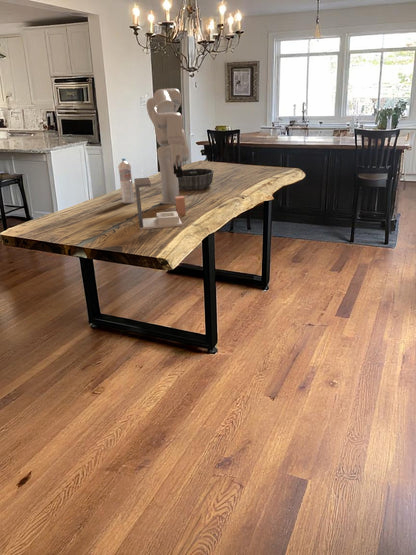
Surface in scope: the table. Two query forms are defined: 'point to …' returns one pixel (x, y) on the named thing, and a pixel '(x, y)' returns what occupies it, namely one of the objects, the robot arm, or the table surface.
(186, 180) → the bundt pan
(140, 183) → the grey l-shaped bracket
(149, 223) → the socket stand
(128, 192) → the water bottle
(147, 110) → the robot arm
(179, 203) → the peg
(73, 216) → the table surface
